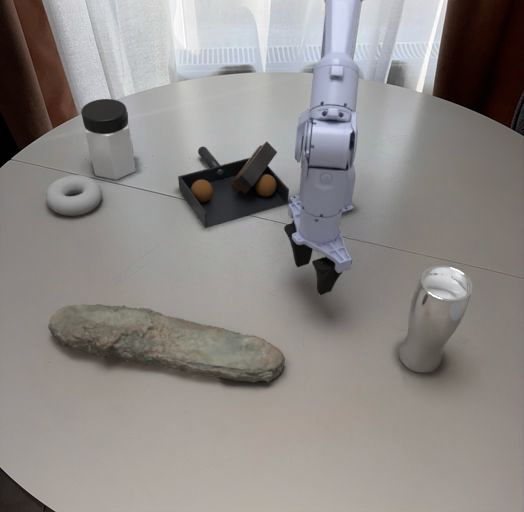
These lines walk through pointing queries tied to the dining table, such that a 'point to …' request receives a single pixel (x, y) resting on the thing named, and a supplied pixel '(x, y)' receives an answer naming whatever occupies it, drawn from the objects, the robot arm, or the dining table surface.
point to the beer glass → (434, 316)
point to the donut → (73, 204)
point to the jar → (109, 138)
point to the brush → (254, 168)
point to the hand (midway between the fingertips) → (313, 277)
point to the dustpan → (228, 192)
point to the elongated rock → (166, 342)
